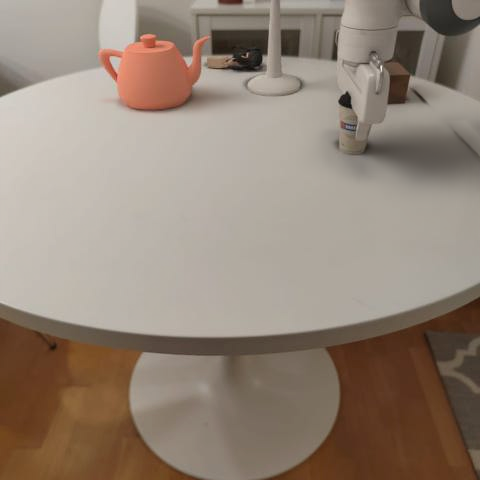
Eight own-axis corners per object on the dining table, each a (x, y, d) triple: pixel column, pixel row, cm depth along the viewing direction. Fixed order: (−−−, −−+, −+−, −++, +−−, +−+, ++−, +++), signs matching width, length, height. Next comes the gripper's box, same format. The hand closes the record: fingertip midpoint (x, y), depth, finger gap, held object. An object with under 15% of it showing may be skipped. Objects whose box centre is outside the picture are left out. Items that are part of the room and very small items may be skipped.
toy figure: (206, 74, 120) (263, 70, 119) (203, 48, 117) (262, 43, 116) (209, 70, 126) (263, 65, 125) (206, 44, 123) (262, 40, 122)
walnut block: (392, 89, 107) (397, 61, 103) (404, 103, 100) (410, 74, 96) (354, 91, 107) (358, 63, 103) (364, 105, 100) (368, 76, 96)
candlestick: (258, 76, 117) (257, -72, 97) (306, 80, 113) (315, -72, 94) (239, 93, 108) (234, -66, 89) (291, 98, 105) (298, -67, 85)
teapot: (216, 85, 113) (212, 24, 104) (212, 111, 100) (207, 44, 91) (116, 88, 114) (104, 27, 105) (99, 113, 101) (84, 47, 92)
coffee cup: (340, 138, 88) (346, 84, 81) (375, 145, 85) (385, 89, 78) (327, 153, 83) (333, 96, 76) (364, 160, 80) (374, 102, 74)
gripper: (406, 62, 65) (388, 154, 74) (370, 28, 80) (358, 107, 89) (362, 64, 65) (349, 155, 74) (334, 29, 80) (326, 109, 89)
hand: (354, 129), depth 82 cm, fingers closed on coffee cup, 7 cm apart
